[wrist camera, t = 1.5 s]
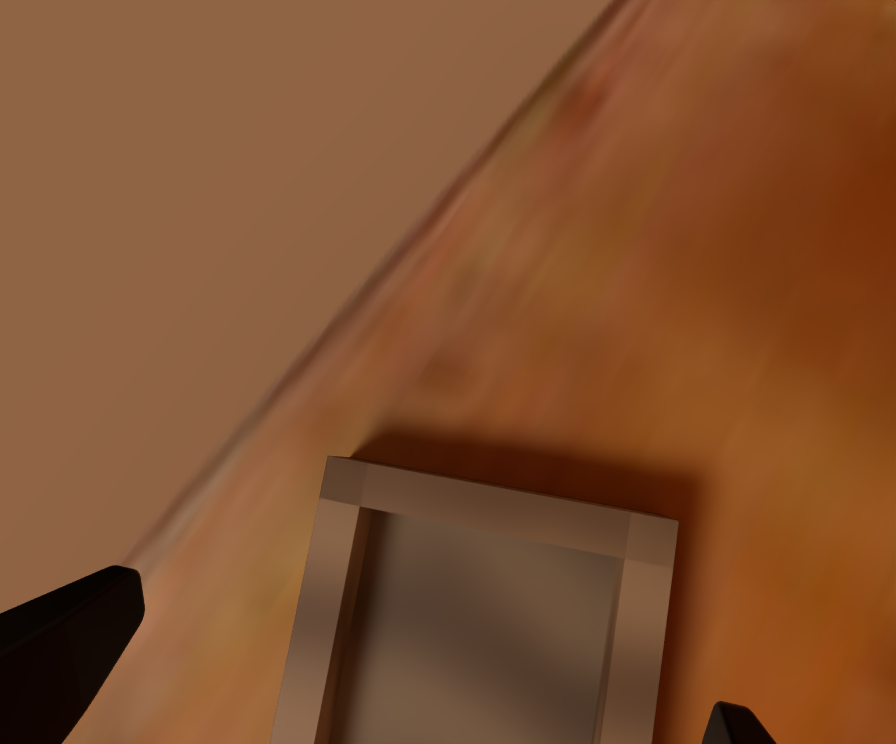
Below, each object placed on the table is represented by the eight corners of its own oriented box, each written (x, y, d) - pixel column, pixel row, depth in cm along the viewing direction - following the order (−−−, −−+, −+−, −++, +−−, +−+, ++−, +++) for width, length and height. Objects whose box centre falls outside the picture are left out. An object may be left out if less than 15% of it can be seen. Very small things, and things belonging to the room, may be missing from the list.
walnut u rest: (617, 875, 20) (628, 930, 18) (285, 780, 22) (254, 819, 20) (663, 515, 22) (678, 521, 19) (348, 457, 24) (327, 455, 21)
